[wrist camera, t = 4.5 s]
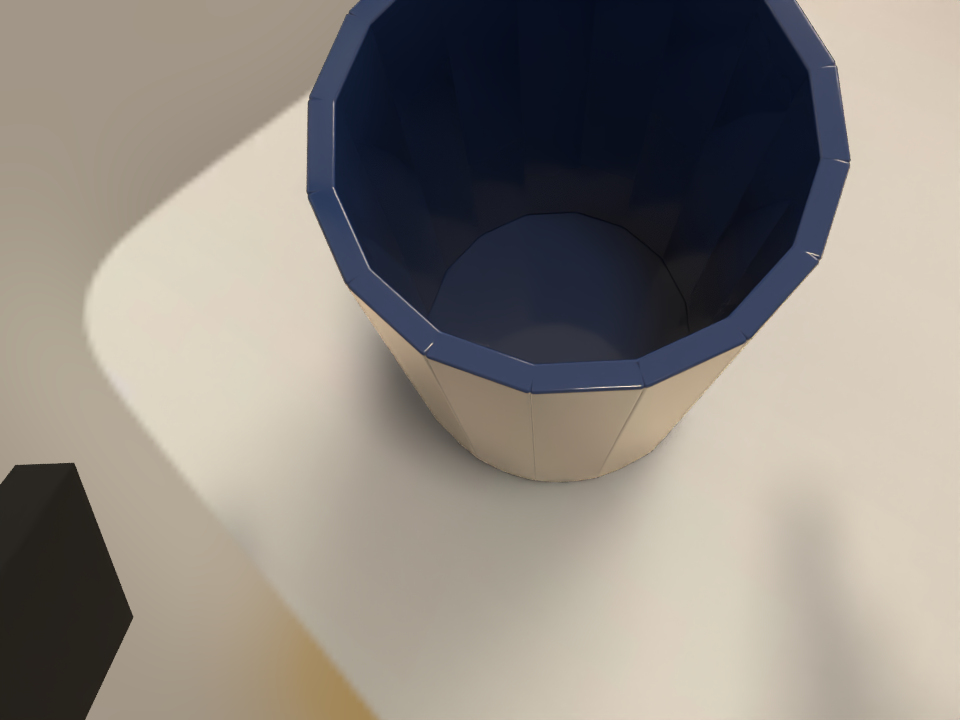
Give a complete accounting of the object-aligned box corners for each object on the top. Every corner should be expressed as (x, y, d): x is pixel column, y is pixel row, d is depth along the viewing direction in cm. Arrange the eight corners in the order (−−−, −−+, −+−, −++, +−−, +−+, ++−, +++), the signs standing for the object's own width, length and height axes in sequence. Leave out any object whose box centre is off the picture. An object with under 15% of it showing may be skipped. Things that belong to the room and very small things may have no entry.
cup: (418, 488, 22) (302, 404, 11) (414, 216, 24) (309, -80, 13) (714, 476, 21) (883, 378, 11) (687, 200, 23) (812, -119, 13)
